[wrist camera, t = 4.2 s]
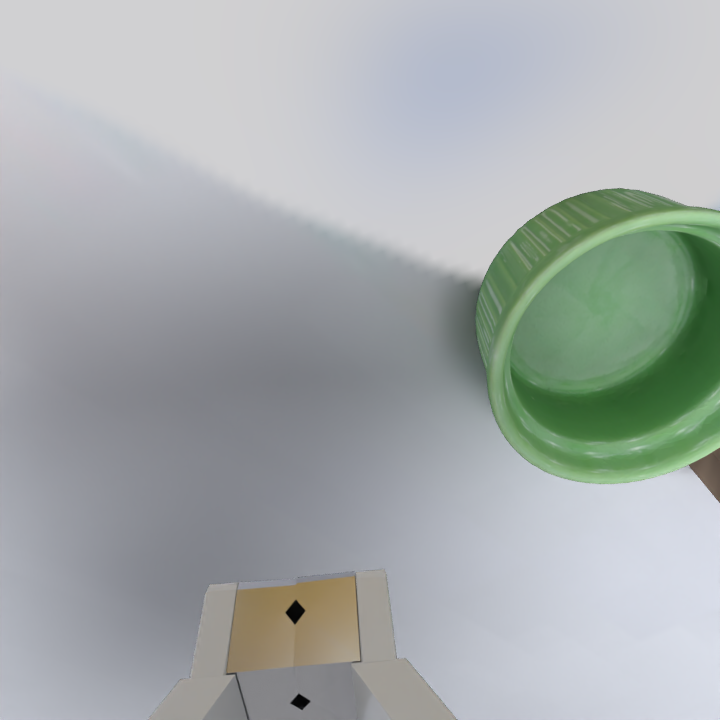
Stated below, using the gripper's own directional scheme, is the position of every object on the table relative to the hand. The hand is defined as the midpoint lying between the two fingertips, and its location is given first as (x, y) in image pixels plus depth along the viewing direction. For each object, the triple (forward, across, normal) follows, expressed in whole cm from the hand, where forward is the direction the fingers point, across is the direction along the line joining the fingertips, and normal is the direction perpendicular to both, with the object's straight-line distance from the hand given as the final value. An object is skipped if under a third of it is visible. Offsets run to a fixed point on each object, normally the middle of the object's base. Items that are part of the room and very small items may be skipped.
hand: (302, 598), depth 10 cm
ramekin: (+12, +10, -1) cm, 15 cm away
